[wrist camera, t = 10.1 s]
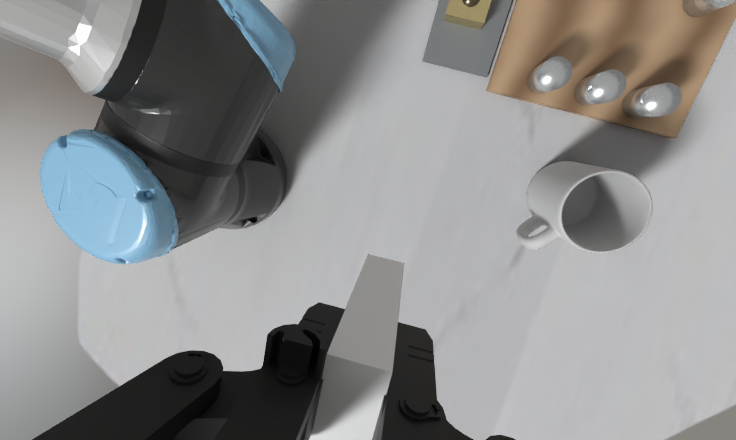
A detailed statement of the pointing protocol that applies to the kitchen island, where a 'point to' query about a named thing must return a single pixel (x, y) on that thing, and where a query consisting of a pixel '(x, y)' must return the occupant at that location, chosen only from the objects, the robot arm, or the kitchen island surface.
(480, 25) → the nut
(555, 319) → the kitchen island surface
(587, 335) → the kitchen island surface
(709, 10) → the spacers
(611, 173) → the mug
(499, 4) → the mat
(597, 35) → the board
